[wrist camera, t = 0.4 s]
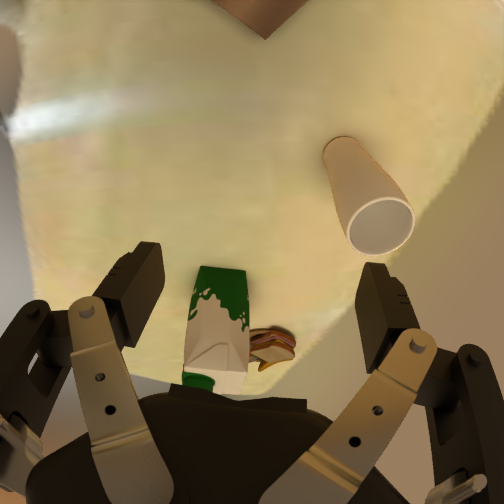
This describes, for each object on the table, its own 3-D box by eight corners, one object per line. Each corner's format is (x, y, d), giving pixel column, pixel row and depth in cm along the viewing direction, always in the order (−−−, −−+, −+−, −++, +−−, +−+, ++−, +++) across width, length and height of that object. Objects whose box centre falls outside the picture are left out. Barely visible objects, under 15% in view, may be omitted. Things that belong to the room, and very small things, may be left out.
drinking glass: (377, 160, 38) (425, 233, 27) (334, 187, 41) (365, 268, 30) (350, 119, 34) (399, 182, 23) (305, 149, 37) (331, 224, 26)
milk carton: (195, 260, 49) (177, 379, 35) (252, 267, 50) (254, 386, 36) (193, 296, 55) (179, 404, 40) (244, 302, 56) (243, 410, 41)
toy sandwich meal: (220, 338, 65) (219, 358, 61) (278, 317, 60) (279, 338, 56) (253, 362, 72) (253, 380, 68) (306, 344, 67) (308, 363, 63)
